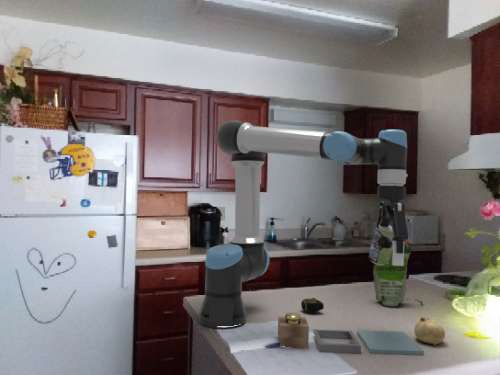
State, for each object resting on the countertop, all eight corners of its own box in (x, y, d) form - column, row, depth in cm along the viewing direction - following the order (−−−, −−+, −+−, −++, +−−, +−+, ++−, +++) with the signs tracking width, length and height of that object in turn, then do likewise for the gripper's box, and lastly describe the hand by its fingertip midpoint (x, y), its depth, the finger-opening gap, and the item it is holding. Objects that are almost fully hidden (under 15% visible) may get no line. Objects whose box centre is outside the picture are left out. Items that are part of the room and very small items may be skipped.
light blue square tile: (370, 353, 102) (370, 349, 102) (356, 333, 116) (356, 330, 116) (423, 355, 102) (423, 351, 102) (403, 335, 116) (404, 331, 116)
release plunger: (285, 344, 105) (285, 317, 105) (284, 338, 110) (284, 312, 110) (301, 345, 105) (301, 318, 105) (299, 339, 110) (300, 312, 110)
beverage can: (372, 257, 121) (376, 220, 119) (396, 264, 117) (400, 225, 114) (364, 263, 117) (368, 224, 114) (388, 270, 112) (393, 230, 110)
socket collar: (318, 351, 102) (319, 344, 102) (313, 336, 113) (313, 329, 113) (360, 353, 102) (361, 345, 102) (351, 337, 113) (351, 330, 113)
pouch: (412, 304, 147) (413, 239, 147) (393, 309, 140) (395, 241, 140) (387, 297, 156) (388, 236, 156) (368, 302, 149) (369, 237, 150)
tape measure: (325, 312, 133) (324, 301, 133) (307, 315, 131) (306, 304, 131) (315, 306, 140) (315, 296, 140) (298, 309, 138) (297, 299, 138)
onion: (435, 336, 115) (436, 313, 115) (450, 347, 107) (451, 322, 107) (409, 336, 115) (409, 312, 115) (422, 347, 107) (422, 321, 107)
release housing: (279, 348, 104) (279, 325, 104) (277, 337, 112) (278, 316, 112) (308, 349, 104) (308, 326, 104) (304, 338, 111) (305, 317, 111)
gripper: (423, 185, 97) (421, 270, 96) (390, 186, 121) (388, 253, 121) (393, 184, 97) (390, 269, 97) (366, 185, 122) (364, 252, 122)
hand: (389, 260), depth 109 cm, fingers open, 13 cm apart
